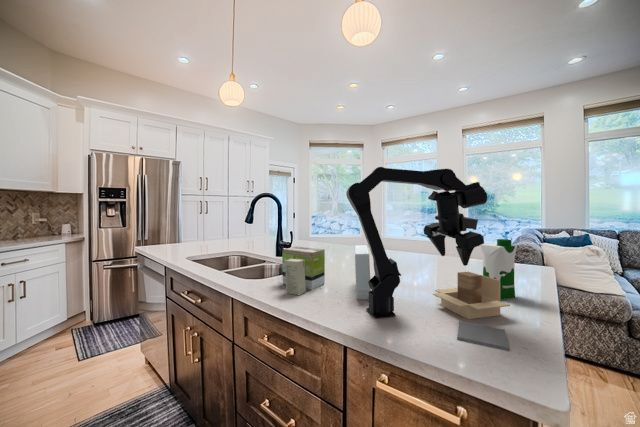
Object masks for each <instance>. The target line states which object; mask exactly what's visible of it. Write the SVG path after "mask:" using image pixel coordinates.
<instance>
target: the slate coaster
mask: <svg viewBox="0 0 640 427" xmlns="http://www.w3.org/2000/svg"><path fill="white" fill-rule="evenodd" d="M457 327H458V329H457V335H456V340H459V341H464V342H469V343H472V344H478V345H482V346H485V347H486V346H487V347H490V348H491V347H492V348H495V349H496V348H497V349H500V350H506V351H509V350H510V345H509V342H508V338H507V334H506V330H505V328H499V327H494V326H493V327H492V326H487V325H482V324H476V323H472V322H471V323H470V322H466V321H462V320H461V321H460V320H459V321H458V326H457Z"/></svg>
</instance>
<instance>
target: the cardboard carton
mask: <svg viewBox="0 0 640 427" xmlns="http://www.w3.org/2000/svg"><path fill="white" fill-rule="evenodd" d="M470 272H471V271H470ZM471 273H473V272H471ZM474 273H475V272H474ZM475 274H478V273H475ZM478 275H480V274H478ZM481 275H482V303H475V304H467V303H465V302H463V301H460V300H458V287H454V288H444V289H434V292H436V293H432V295H433V296H435V297H437V298H440V301H441V302H440V305H441V306H442V307H443V306H444V307H443V308H446V309H447V310H450V311H451V312H454V313H455V314H457V315H459V316H462V317H464V318H465V319H467V320H474V319H480V318H488V317H495V316H501V308H503V307H505V308H506V307H511V304H509V303H506V302H503V301H502V300H500V280H497V279H493V278H490V277H486V276H483V274H481Z"/></svg>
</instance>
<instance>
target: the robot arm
mask: <svg viewBox="0 0 640 427" xmlns="http://www.w3.org/2000/svg"><path fill="white" fill-rule="evenodd" d="M381 182H382V183H383V182H384V183H395V184H405V185H407V184H408V185H417V186H421V187H425V188H426V189H430V190H432V192H431V194H430V195H429V196H428V197H427V199H428V200H431V201H435V204H436V210H437V211H436V212H437V215H435V216H434V220H436V222H434V223H431V224H426V225H425V226H424V227H423V230H422V231H423V234H424V236H425V235H426V237H427V238H428V239H429V240H430V242H431V243H432V244H433V245H434V247H435V249H436V250H437V252H438V253H439V255H440V256H441V257H445V256H446V241H445V240H446V238H451V239H455V244H456V245H457V246H455V249H456V251H457V253H458V256H459V258H460V261H461V263H462V266H464V267H466V266H467V265H469V261H470V258H471V255H472V253H473V251H474V249H475V248H476V247H479V246H481V245H482V244H485V239H484V238H485V237H484V235H483V234H481V233H478V232H474V231H476V230H477V229H478V228H477V226H478V222H479V219H476V218H474V217H473V218H472V217H467V216H465V215H464V213H461V212H460V210H459V207H461V208H462V209H468V208H469V209H470V208H474V207H477V206H481V205H485V204H486V203H487V201H488V193H487V191H486V190H485V188H484V187H483V186H482V185H481V184H480V181H476V182H470V183H469V184H465V183H464V182H463V181H462V180H461V179H460V178H458V177H457V175H456V173H455V172H454V170H452V169H451V168H440V169H438V168H437V169H431V170H413V169H402V168H392V167H391V168H389V167H383V166H379V167H376V168H375V169H373V170H372V172H371V173H370V174H369V175H367V176H366V177H365V178H364V179H362V181H360V182H355V183H352V184H351V185H350V186H349V187H348V188H347V190H346V192H345V193H346V199H347V200H348V202H349V204H350V206H351V207H352V209H353V210H354V212H355V213H356V215H357V217H358V220H359V222H360V225H361V229H362V230H363V233H364V236H365V240H366V242H367V246H368V249H369V250H370V253H371V254H370V255H371V256H372V259H373V260H372V261H373V269H374V275H373V276H372V277H370V280H369V281H368V284H369V287H370V288H371V291H369V300H368V307H367V308H366V311H367V312H368V313H369V314H370V315H371V316H373V317H374V318H376V319H379V318H387V317H395V316H396V313H395V312H394V311H395V297H393V295H394V292H395V289H397V288H398V286H399V285H400V283H401V278H400V277H401V276H402V274H401V273H400V271H399V268H398V263H397V261H395V260H394V259H392V258H391V257H390V258H389V256H388V255H387V253H386V249H385V247H384V244H383V241H382V238H381V236H380V233H379V230H378V228H377V225H376V224H377V223H376V222H375V219H374V216H373V213H372V205H371V204H372V203H371V197H370V192H371V191H372V190H374V189H375V188H376V187H377V186H378V185H379V184H380V183H381ZM438 191H441V192H438ZM437 221H438V222H437ZM469 229H470V230H471V229H472V230H473V231H467V230H469ZM466 231H467V232H466ZM462 232H464V233H462Z"/></svg>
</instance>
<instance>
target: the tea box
mask: <svg viewBox="0 0 640 427" xmlns="http://www.w3.org/2000/svg"><path fill="white" fill-rule="evenodd" d="M325 251H326V250H325V249H324V248H323V249H322V248H314V247H313V248H312V247H305V246H293V247H288V248H285V249H282V252H281V253H282V255H281V258H282V261H281V262H282V266H281V267H282V268H281V270H282V271H281V272H282V273H281V274H282V276H281V277H282V284H283V285H286V269H285V260H289V259H300V260H305V286H306V290H310V291H312V290H314V289H317V288H319V287H321V286H323V285H324V284H325V280H326V279H325V277H326V274H325V272H326V271H325V270H326V269H325V268H326V267H325V261H326V258H325V255H326V254H325Z"/></svg>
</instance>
